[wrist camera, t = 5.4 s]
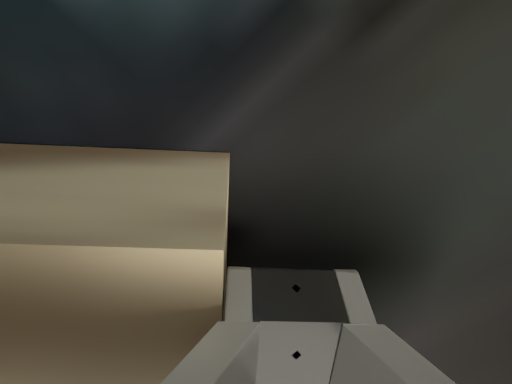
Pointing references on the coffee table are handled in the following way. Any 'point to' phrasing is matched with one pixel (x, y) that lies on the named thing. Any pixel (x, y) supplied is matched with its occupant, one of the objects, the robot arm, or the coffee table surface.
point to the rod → (108, 261)
